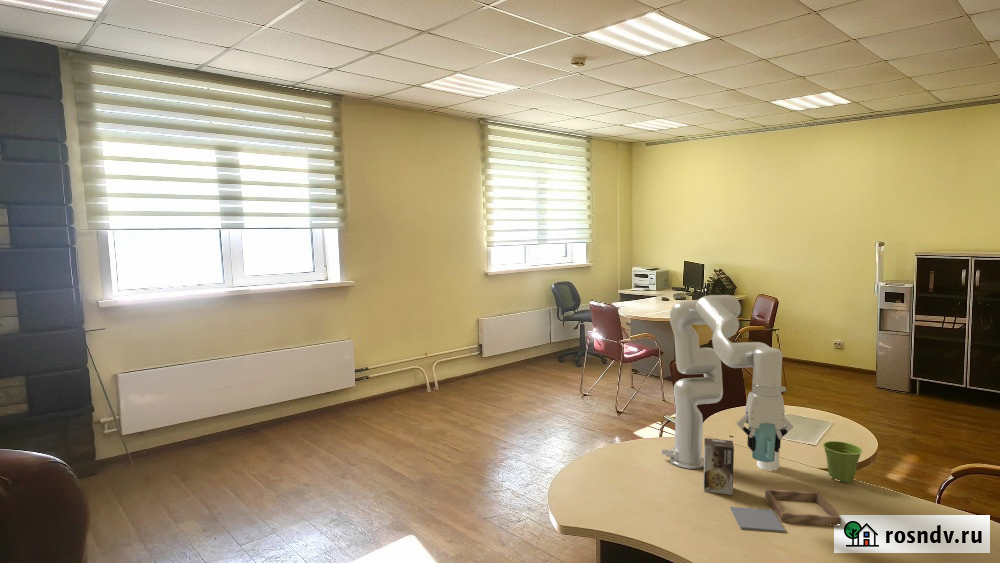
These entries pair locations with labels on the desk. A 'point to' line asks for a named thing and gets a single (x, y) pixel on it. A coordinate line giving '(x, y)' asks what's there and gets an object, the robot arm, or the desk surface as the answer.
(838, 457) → the plant pot
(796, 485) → the desk surface
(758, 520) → the rubber mat
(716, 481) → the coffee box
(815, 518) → the brown wooden square frame
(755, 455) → the teal mug
